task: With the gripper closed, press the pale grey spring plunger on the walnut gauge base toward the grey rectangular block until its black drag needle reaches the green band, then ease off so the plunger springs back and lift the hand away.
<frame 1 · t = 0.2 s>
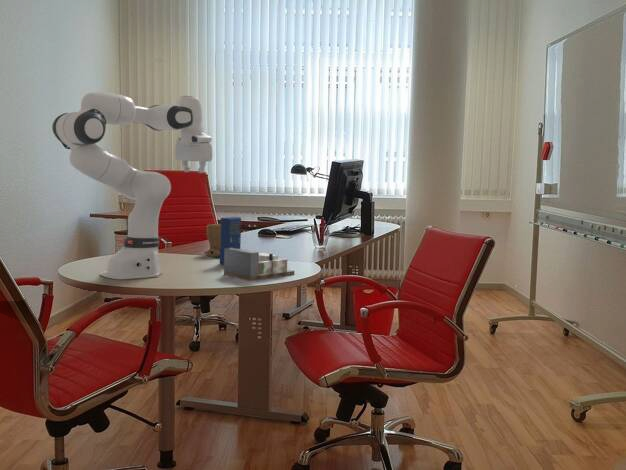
hand: (194, 172, 261), 39 cm above the table, tool pointing down, fingers open, 8 cm apart
plunger: (267, 262, 257), point 5 cm above the table, slide at 0.0 cm
drag needle: (270, 256, 250), point 8 cm above the table, slide at 0.0 cm
gauge base: (255, 275, 254), on the table
grey rectangular block: (241, 262, 248), point 6 cm above the table
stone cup: (216, 256, 304), on the table
electronic device: (229, 264, 281), on the table
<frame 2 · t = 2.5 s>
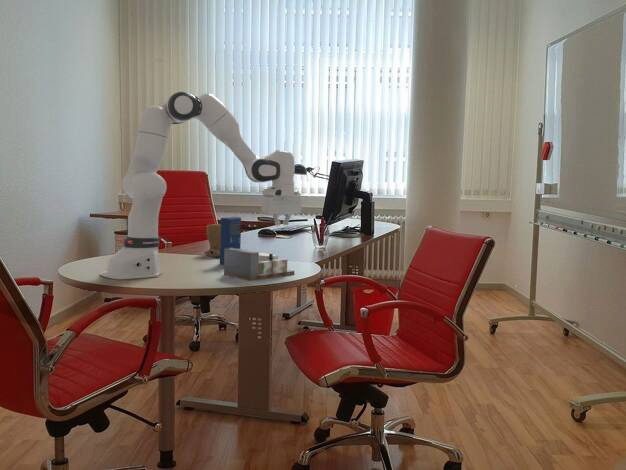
hand: (281, 225, 263), 19 cm above the table, tool pointing down, fingers open, 3 cm apart
nothing on the table moved.
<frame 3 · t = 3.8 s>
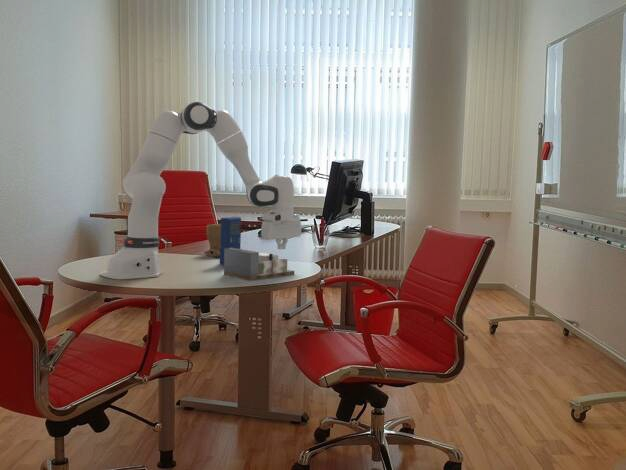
hand: (281, 249, 264), 9 cm above the table, tool pointing down, fingers closed
nothing on the table moved.
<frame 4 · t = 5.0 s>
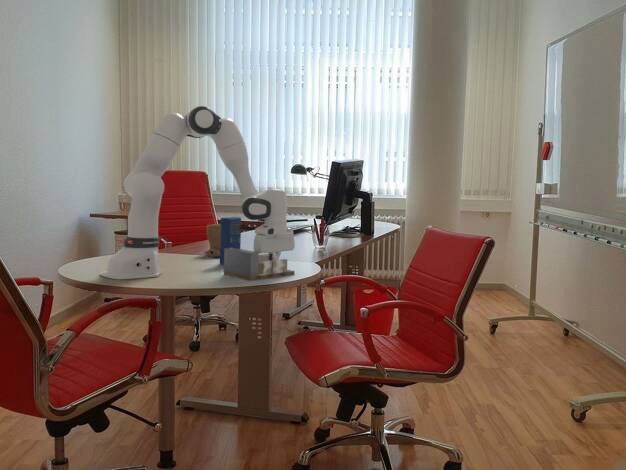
hand: (274, 263, 262), 4 cm above the table, tool pointing down, fingers closed
plunger: (266, 262, 257), point 5 cm above the table, slide at 0.1 cm, touching gripper
everything else where it was.
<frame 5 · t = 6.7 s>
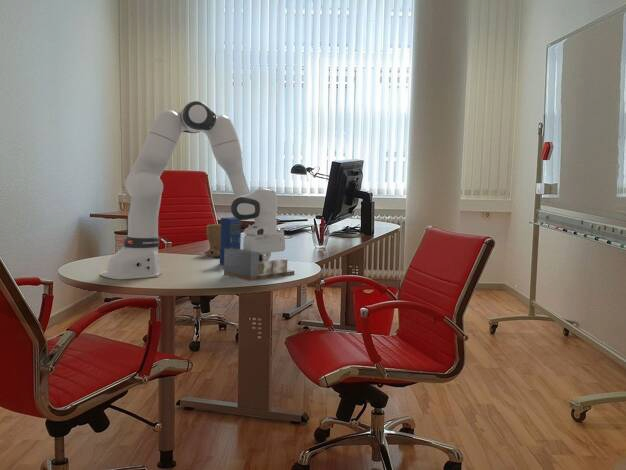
hand: (264, 263, 258), 4 cm above the table, tool pointing down, fingers closed
plunger: (256, 263, 253), point 5 cm above the table, slide at 5.5 cm, touching drag needle, gripper
drag needle: (261, 258, 246), point 8 cm above the table, slide at 5.3 cm, touching plunger
everything else where it was.
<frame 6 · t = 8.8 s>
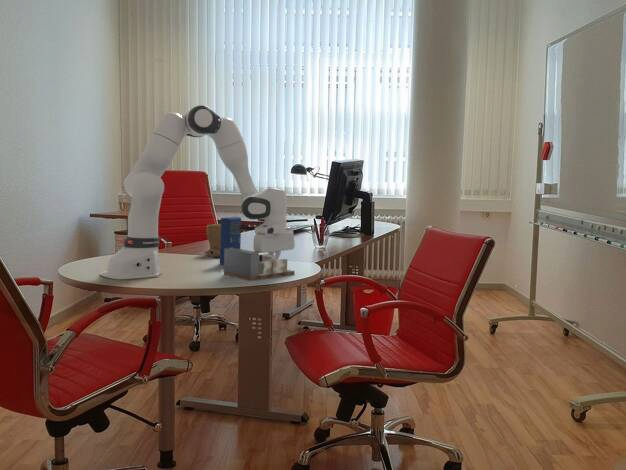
hand: (274, 262, 262), 4 cm above the table, tool pointing down, fingers closed
plunger: (265, 262, 256), point 5 cm above the table, slide at 1.1 cm
drag needle: (261, 258, 246), point 8 cm above the table, slide at 5.3 cm
everything else where it was.
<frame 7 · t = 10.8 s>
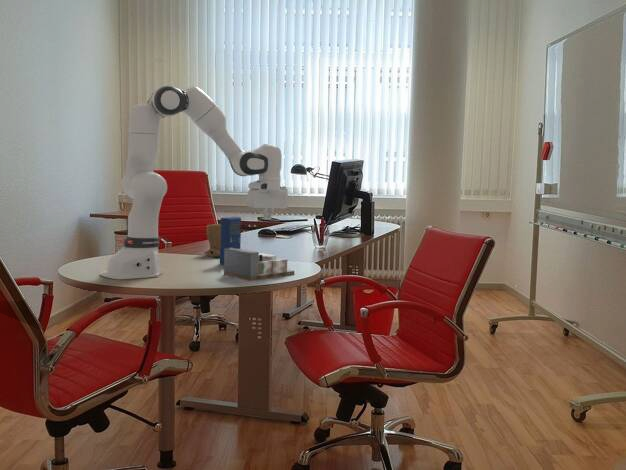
hand: (267, 219, 263), 21 cm above the table, tool pointing down, fingers closed
nothing on the table moved.
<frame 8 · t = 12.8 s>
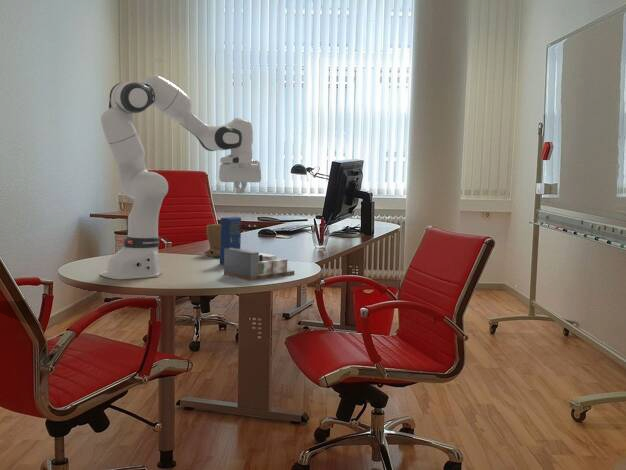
hand: (240, 193, 265), 31 cm above the table, tool pointing down, fingers closed
nothing on the table moved.
at the end: drag needle slide at 5.3 cm; plunger slide at 1.1 cm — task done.
